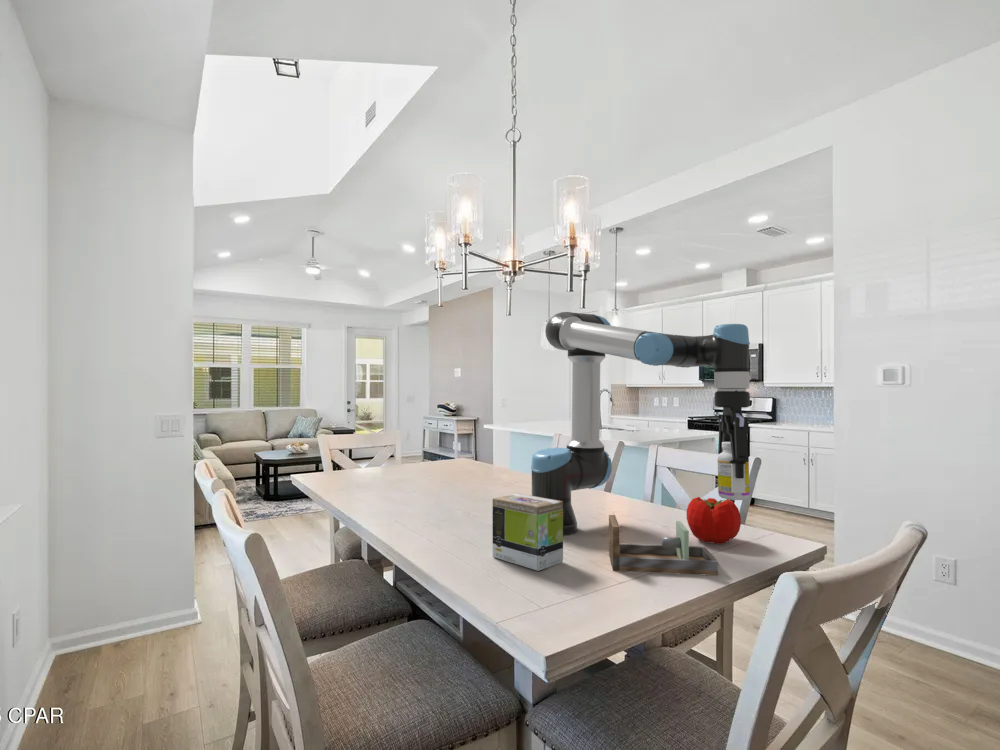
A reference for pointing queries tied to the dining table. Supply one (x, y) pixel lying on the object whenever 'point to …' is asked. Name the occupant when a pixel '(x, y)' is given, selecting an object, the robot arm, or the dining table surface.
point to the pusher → (678, 541)
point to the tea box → (528, 530)
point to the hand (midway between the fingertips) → (733, 489)
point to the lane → (656, 557)
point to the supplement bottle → (729, 475)
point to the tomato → (713, 520)
